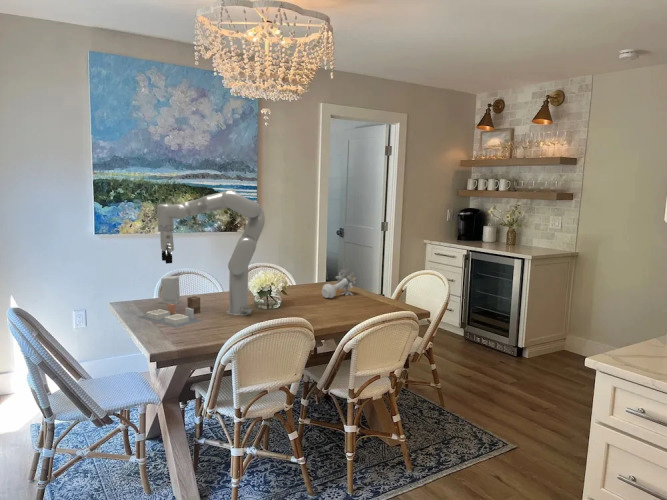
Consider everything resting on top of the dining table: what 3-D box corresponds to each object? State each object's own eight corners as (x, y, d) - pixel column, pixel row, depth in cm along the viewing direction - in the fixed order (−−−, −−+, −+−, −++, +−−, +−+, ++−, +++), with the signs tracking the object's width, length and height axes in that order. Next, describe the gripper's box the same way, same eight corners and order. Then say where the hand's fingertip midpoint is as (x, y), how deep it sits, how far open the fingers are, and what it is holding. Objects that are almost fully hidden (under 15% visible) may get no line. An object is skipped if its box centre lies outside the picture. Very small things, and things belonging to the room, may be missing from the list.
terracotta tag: (175, 314, 253) (175, 304, 252) (172, 314, 252) (172, 305, 251) (169, 312, 255) (169, 303, 255) (167, 313, 254) (167, 303, 253)
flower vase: (332, 310, 299) (358, 294, 316) (332, 284, 291) (359, 268, 308) (317, 303, 307) (343, 287, 324) (316, 277, 299) (343, 262, 316)
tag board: (202, 322, 243) (202, 315, 243) (175, 329, 230) (175, 322, 230) (164, 312, 259) (164, 305, 259) (137, 318, 246) (137, 312, 245)
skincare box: (180, 303, 280) (179, 275, 278) (176, 306, 273) (176, 278, 271) (165, 302, 279) (164, 275, 277) (161, 305, 273) (161, 277, 271)
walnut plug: (200, 314, 258) (200, 297, 256) (193, 316, 254) (193, 299, 253) (194, 313, 260) (194, 296, 259) (187, 314, 256) (187, 297, 255)
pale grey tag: (193, 318, 245) (193, 309, 244) (191, 319, 244) (191, 309, 243) (187, 317, 248) (187, 307, 247) (185, 318, 246) (185, 308, 246)
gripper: (177, 229, 245) (178, 263, 247) (170, 226, 260) (171, 259, 262) (161, 230, 241) (162, 264, 244) (155, 227, 256) (156, 259, 259)
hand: (167, 261), depth 253 cm, fingers open, 9 cm apart
